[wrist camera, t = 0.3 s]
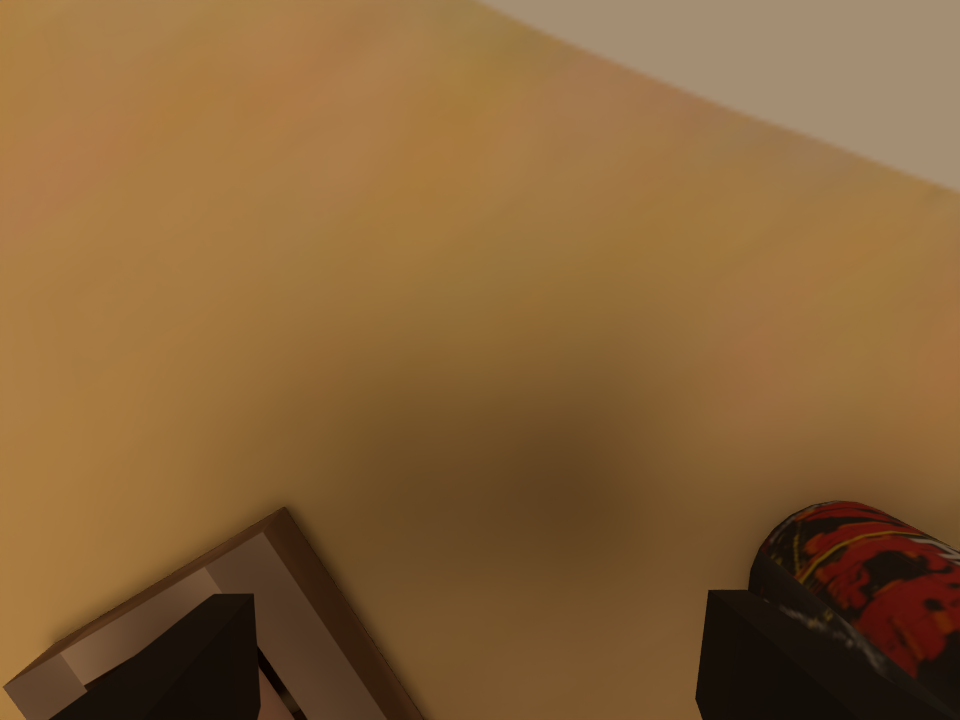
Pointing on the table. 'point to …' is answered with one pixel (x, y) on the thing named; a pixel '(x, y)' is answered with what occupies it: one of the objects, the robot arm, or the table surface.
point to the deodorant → (870, 594)
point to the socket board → (279, 628)
